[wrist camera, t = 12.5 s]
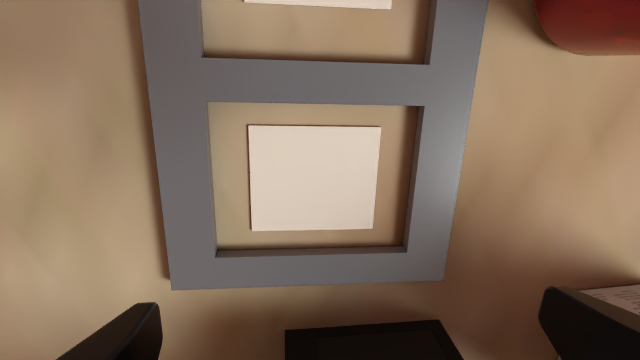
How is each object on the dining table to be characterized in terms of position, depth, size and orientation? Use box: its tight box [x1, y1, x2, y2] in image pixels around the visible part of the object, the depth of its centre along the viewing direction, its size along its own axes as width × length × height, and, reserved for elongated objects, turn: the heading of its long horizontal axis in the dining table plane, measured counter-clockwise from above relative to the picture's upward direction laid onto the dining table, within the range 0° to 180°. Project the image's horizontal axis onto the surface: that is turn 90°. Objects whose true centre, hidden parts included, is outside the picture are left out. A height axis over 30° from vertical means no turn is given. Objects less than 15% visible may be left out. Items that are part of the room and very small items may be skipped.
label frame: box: [138, 0, 488, 290], centre depth 17 cm, size 26×16×1 cm, turn 178°
